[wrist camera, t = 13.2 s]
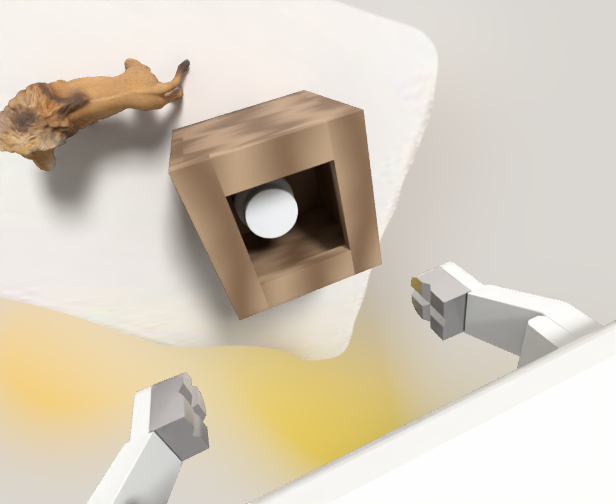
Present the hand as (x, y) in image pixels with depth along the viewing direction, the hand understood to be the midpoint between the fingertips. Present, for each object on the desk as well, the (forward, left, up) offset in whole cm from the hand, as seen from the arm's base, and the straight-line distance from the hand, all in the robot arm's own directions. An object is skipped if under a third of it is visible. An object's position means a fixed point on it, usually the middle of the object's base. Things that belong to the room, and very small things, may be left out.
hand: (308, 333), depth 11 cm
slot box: (+3, -5, -29) cm, 30 cm away
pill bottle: (+2, -5, -28) cm, 29 cm away
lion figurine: (-8, +6, -30) cm, 31 cm away
